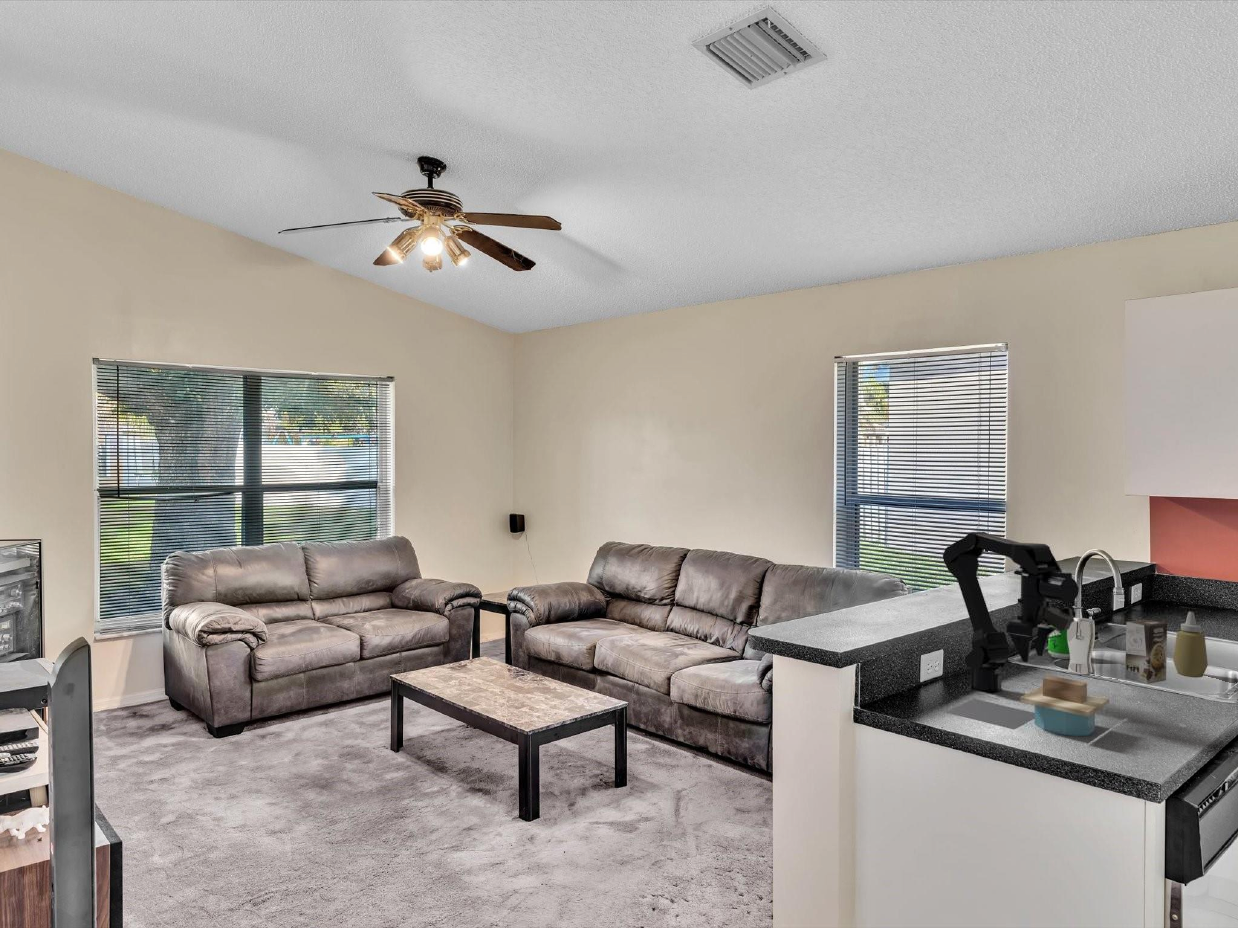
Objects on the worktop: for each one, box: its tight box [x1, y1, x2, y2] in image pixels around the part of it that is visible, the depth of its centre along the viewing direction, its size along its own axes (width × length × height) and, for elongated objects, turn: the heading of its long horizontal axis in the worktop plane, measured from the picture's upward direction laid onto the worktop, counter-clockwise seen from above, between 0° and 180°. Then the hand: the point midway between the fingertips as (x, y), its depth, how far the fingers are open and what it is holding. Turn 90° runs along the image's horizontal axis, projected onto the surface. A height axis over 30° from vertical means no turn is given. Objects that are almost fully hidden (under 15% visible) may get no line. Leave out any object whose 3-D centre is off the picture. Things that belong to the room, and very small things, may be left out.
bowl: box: [1034, 705, 1096, 737], centre depth 183 cm, size 11×11×6 cm
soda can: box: [1047, 626, 1070, 660], centre depth 250 cm, size 8×8×12 cm
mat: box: [945, 698, 1035, 730], centre depth 192 cm, size 16×16×1 cm
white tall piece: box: [1067, 616, 1096, 676], centre depth 232 cm, size 7×7×15 cm
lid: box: [1019, 675, 1110, 717], centre depth 183 cm, size 14×14×5 cm
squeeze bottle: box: [1172, 611, 1209, 679], centre depth 230 cm, size 8×8×18 cm
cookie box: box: [1124, 619, 1168, 685], centre depth 225 cm, size 9×6×16 cm
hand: (1032, 658), depth 198 cm, fingers open, 9 cm apart
